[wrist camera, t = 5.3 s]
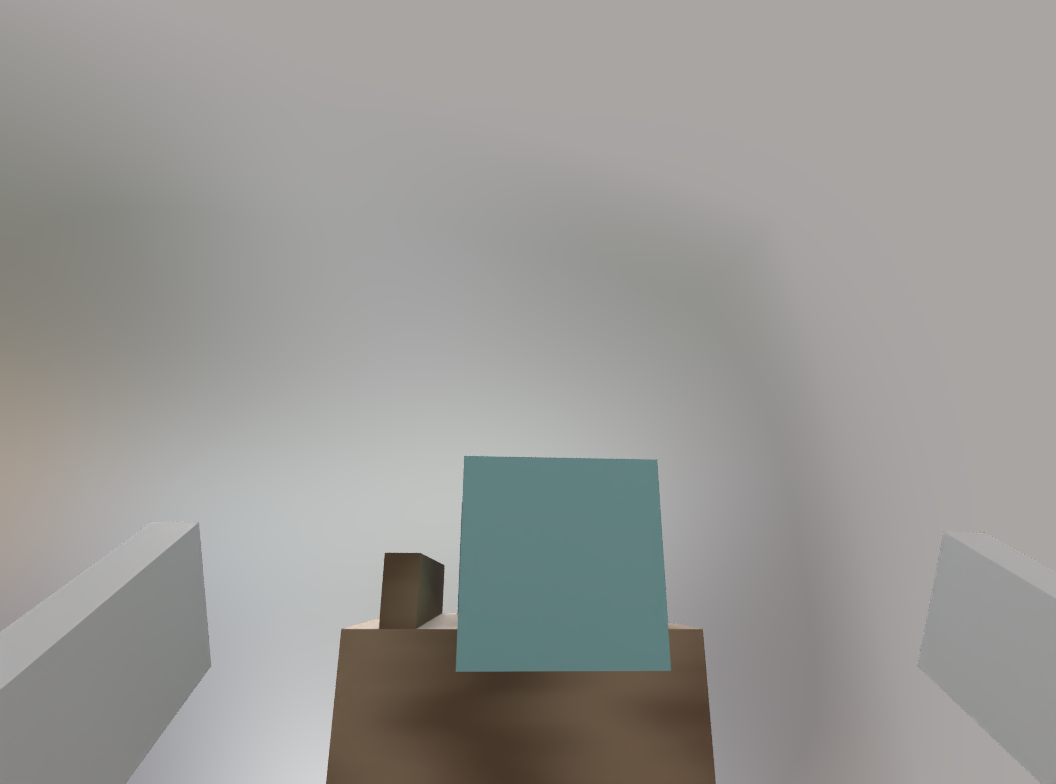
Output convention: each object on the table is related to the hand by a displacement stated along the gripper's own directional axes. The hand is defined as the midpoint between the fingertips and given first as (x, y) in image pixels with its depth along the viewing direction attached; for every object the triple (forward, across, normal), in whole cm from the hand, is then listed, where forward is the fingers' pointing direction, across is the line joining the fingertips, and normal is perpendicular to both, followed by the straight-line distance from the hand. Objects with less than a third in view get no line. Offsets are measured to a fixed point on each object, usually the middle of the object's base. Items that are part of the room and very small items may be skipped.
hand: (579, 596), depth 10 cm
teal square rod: (+6, -1, -5) cm, 8 cm away
